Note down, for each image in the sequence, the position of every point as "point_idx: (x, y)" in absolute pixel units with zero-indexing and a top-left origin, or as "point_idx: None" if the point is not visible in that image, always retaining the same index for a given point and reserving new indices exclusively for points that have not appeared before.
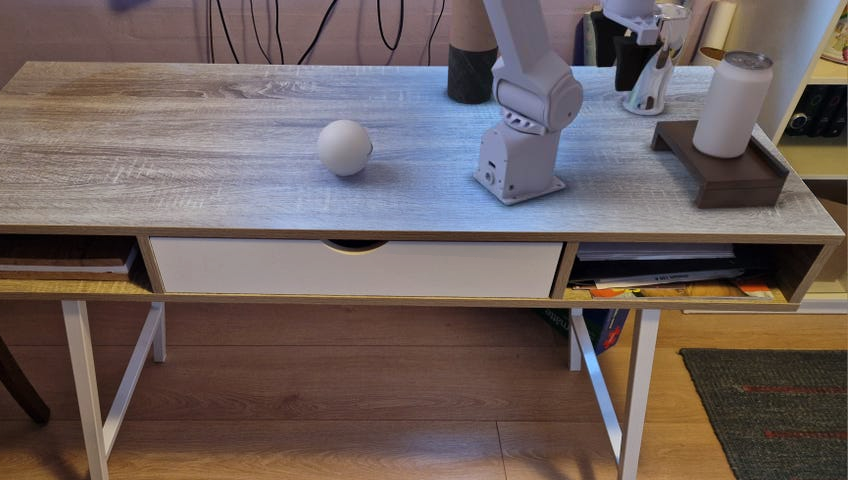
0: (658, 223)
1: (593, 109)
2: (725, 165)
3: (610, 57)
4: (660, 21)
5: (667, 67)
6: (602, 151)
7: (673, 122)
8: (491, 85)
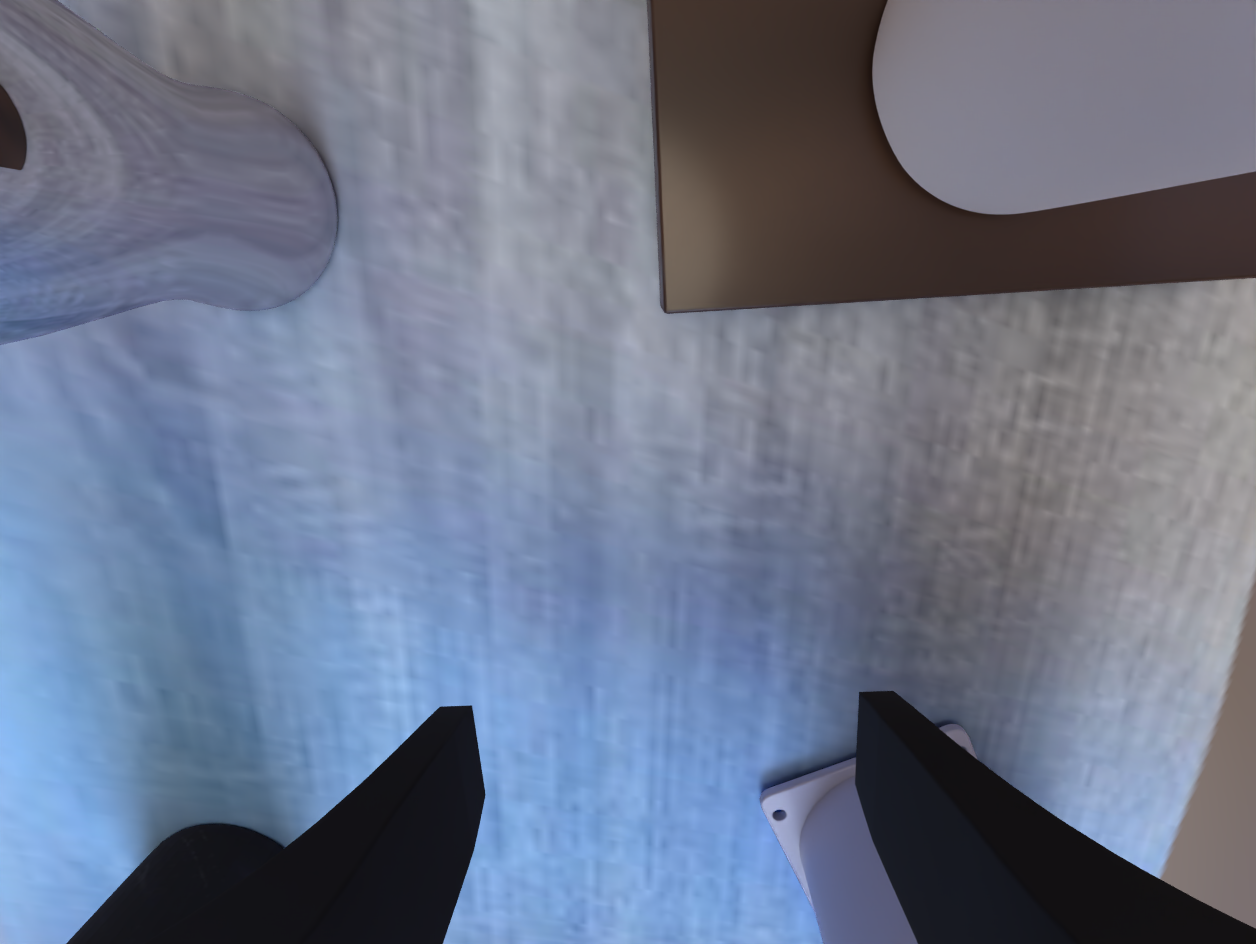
0: (1246, 470)
1: (299, 459)
2: None
3: (449, 782)
4: None
5: (135, 107)
6: (692, 524)
7: (683, 221)
8: (225, 883)
